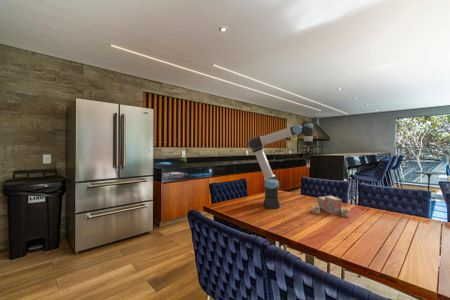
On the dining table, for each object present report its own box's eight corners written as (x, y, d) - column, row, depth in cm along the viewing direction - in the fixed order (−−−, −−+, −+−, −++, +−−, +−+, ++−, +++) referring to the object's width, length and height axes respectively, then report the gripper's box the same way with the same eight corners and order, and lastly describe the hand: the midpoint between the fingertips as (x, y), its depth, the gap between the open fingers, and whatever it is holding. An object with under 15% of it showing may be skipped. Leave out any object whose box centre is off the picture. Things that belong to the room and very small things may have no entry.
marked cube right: (341, 216, 164) (341, 209, 164) (341, 214, 168) (341, 207, 168) (348, 217, 162) (349, 210, 161) (348, 215, 166) (349, 208, 166)
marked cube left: (312, 213, 171) (312, 206, 171) (311, 211, 176) (311, 205, 176) (319, 213, 170) (319, 207, 170) (318, 211, 175) (318, 205, 175)
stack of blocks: (317, 207, 187) (317, 193, 186) (324, 207, 188) (324, 193, 188) (334, 215, 166) (334, 199, 165) (341, 215, 167) (341, 199, 167)
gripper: (312, 140, 185) (312, 168, 185) (312, 141, 197) (312, 166, 197) (303, 140, 187) (303, 167, 188) (304, 141, 199) (304, 166, 200)
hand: (308, 167), depth 193 cm, fingers closed
